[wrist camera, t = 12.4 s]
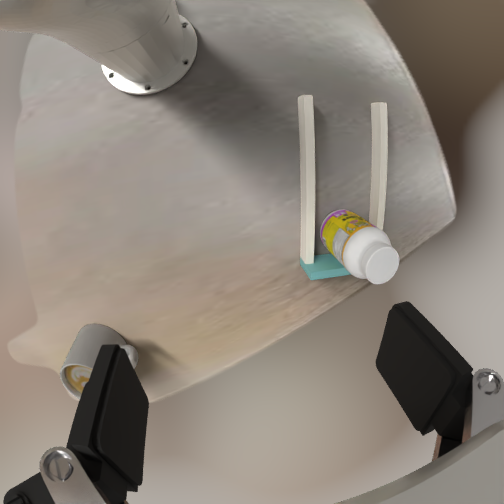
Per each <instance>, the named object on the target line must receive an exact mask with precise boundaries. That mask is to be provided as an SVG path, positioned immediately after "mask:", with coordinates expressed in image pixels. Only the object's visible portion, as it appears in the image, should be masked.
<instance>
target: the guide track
mask: <svg viewBox="0 0 504 504" xmlns="http://www.w3.org/2000/svg"><path fill="white" fill-rule="evenodd" d="M298 116H299V141H300V183H301V247H300V265H301V266H302V268H303V269H304V271H305V272H306V274H307V275H308V277H309V278H310V280H316V279H323V278H330V277H337V276H344V275H350V273H349V271H348V270H347V269H346V268H345V267H344V266H343V265H342V264H341V263H340V262H339V261H338V260H337V259H336V258H335V257H334V256H333V255H332V254H323V255H314V238H315V137H314V110H313V95H302V96H299V97H298ZM371 125H372V164H371V192H370V209H369V223H371V224H372V225H374V226H376V227H377V228H379V229H380V230H382V231H383V224H384V213H385V200H386V184H387V157H388V122H387V103H383V102H375V103H371Z"/></svg>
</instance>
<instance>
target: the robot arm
mask: <svg viewBox="0 0 504 504" xmlns="http://www.w3.org/2000/svg"><path fill="white" fill-rule="evenodd" d="M184 26H186V28H183V27H184ZM0 30H1V31H11V32H22V33H37V34H43V35H47V36H51V37H53V38H56V39H58V40H60V41H62V42H64V43H66V44H68V45H70V46H72V47H73V48H75V49H77V50H78V51H80V52H82V53H84V54H85V55H87V56H89V57H90V58H92V59H94V60H95V61H97V62H99V63H100V64H101V65H102V70H103V73H104V75H105V77H106V78H107V80H108V81H109V82H110V83H111V84H112V85H113V86H114V87H116V88H117V89H119V90H121V91H123V92H125V93H129V94H133V95H147V94H153V93H157V92H160V91H162V90H165V89H167V88H169V87H171V86H172V85H173V84H175V83H176V82H178V81H179V80H180V79H181V78H182V77H183V76H184V75H185V74H186V73H187V71H188V70H189V69H190V68H191V66H192V64H193V62H194V60H195V57H196V53H197V44H198V43H197V36H196V33H195V30H194V28H193V26H192V24H191V23H190V22H189V21H188V20H187V19H186V18H185V17H183V16H182V15H180V14H178V10H177V6H176V2H175V0H0ZM185 62H188V64H187V65H184V63H185ZM113 75H115V76H114V77H113V78H112V76H113ZM148 87H151V89H150V90H148ZM376 367H377V369H378V371H379V372H380V373H381V375H382V377H383V378H384V380H385V381H386V383H387V385H388V386H389V388H390V389H391V391H392V392H393V394H394V396H395V397H396V398H397V400H398V402H399V404H400V405H401V407H402V408H403V410H404V412H405V413H406V415H407V416H408V418H409V420H410V421H411V423H412V425H413V426H414V428H415V429H416V430H417V431H420V432H421V434H422V435H425V434H427V433H429V432H431V431H433V430H434V429H435V430H436V431H437V439H436V444H435V449H434V454H433V458H432V462H431V463H429V464H427V465H425V466H424V467H422V468H420V469H418V470H416V471H414V472H412V473H410V474H408V475H406V476H404V477H402V478H400V479H398V480H395V481H393V482H391V483H389V484H386V485H384V486H382V487H379V488H377V489H375V490H372V491H369V492H367V493H364V494H361V495H359V496H356V497H353V498H350V499H347V500H344V501H341V502H338V503H335V504H504V382H503V379H502V378H501V376H500V375H499V374H498V373H497V372H495V371H494V370H491V369H484V368H483V369H480V370H478V371H477V372H475V374H474V376H473V375H472V374H471V372H472V371H473V368H472V367H471V366H470V365H469V364H468V363H467V361H466V360H465V359H464V358H463V357H462V356H461V355H460V354H459V353H458V351H456V349H455V348H454V347H453V346H452V345H451V344H450V343H449V342H448V341H447V340H446V339H445V338H444V337H443V335H441V333H440V332H439V331H438V330H437V329H436V328H435V327H434V326H433V325H432V324H431V323H430V322H429V321H428V320H427V319H426V318H425V317H424V316H423V315H422V314H421V313H420V312H419V311H418V310H417V309H416V308H415V307H414V306H413V305H412V304H411V303H410V302H407V301H406V302H402V303H399V304H395V305H394V306H393V307H392V309H391V310H390V311H389V314H388V318H387V322H386V326H385V330H384V334H383V338H382V341H381V345H380V349H379V352H378V356H377V359H376ZM148 408H149V402H148V398H147V395H146V393H145V391H144V389H143V387H142V385H141V383H140V381H139V379H138V377H137V375H136V373H135V370H134V368H133V366H132V364H131V362H130V359H129V357H128V355H127V352H126V350H125V349H124V348H121V347H120V346H119V345H118V344H106V345H102V346H101V347H100V350H99V353H98V356H97V358H96V361H95V364H94V367H93V370H92V372H91V375H90V378H89V381H88V382H87V383H86V384H85V386H84V388H83V391H82V394H81V397H80V401H79V404H78V407H77V410H76V414H75V417H74V421H73V424H72V428H71V431H70V435H69V439H68V443H67V447H66V448H65V447H53V448H50V449H49V450H47V451H46V452H45V453H44V454H43V456H42V457H41V460H40V468H39V469H40V472H39V473H38V474H36V475H34V476H32V477H31V478H29V479H27V480H26V481H24V482H23V483H21V484H19V485H17V486H15V487H14V488H12V489H10V490H9V491H8V492H7V493H6V495H5V497H4V504H129V503H128V502H127V501H126V496H127V491H133V492H137V491H138V485H139V486H140V485H141V484H142V480H143V463H144V448H145V437H146V426H147V416H148Z"/></svg>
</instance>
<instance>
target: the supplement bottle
mask: <svg viewBox="0 0 504 504" xmlns="http://www.w3.org/2000/svg"><path fill="white" fill-rule="evenodd" d="M320 238H321V241H322V243H323V245H324V246H325V247H326V248H327V250H328V251H329V252H330V253H331V254H332V255H333V256H334V257H335V258H336V259H337V260H338V261H339V262H340V263H341V264H342V265H343V266H344V267H345V268H346V269H347V270H348V271H349V273H350V274H352V275H353V276H355V277H357V278H361V279H368V280H369V281H370V282H371V283H373V284H383V283H385V282H387V281H389V280H390V279H391V278H392V277H393V276H394V274H395V273H396V271H397V269H398V266H399V255H398V253H397V251H396V250H395V249H394V248H393V247H391V243H390V240H389V238H388V236H387V235H386V234H385V233H384V232H383V231H382V230H380V229H379V228H377V227H376V226H374V225H372V224H371V223H369V222H368V221H366V220H364V219H363V218H361V217H360V216H358V215H356V214H355V213H353V212H351V211H349V210H345V209H340V210H336V211H333V212H331V213H330V214H329V215H328V216H327V217H326V218H325V219H324V220H323V222H322V224H321V228H320Z"/></svg>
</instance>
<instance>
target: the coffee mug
mask: <svg viewBox="0 0 504 504" xmlns="http://www.w3.org/2000/svg"><path fill="white" fill-rule="evenodd" d="M106 344H118V345H119V346H120V347H121V348H124V349H125V350H126V352H127V355H128V357H129V359H130V362H131V364H132V366H133V368H134V369H135V367H136V365H137V362H138V352H137V350H136V349H135V348H134V347H133V346H132V345H127V344H126V342H125V340H124V339H123V338H122V336H120V335H119V334H118V333H117V332H116V331H115V330H113V329H111V328H109V327H107V326H104V325H100V324H89V325H86V326H84V327H83V328H81V329H80V331H79V333H78V335H77V337H76V339H75V341H74V343H73V345H72V347H71V349H70V351H69V353H68V355H67V357H66V360H65V362H64V364H63V366H62V368H61V371H60V378H61V381H62V383H63V385H64V386H65V388H66V389H67V390H68V391H69V392H70V393H71V394H72V395H74V396H75V397H77V398H78V399H80V397H81V394H82V391H83V388H84V386H85V384H86V383H87V382H88V381H89V378H90V375H91V372H92V370H93V367H94V364H95V361H96V358H97V356H98V353H99V350H100V347H101V346H102V345H106Z"/></svg>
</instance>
